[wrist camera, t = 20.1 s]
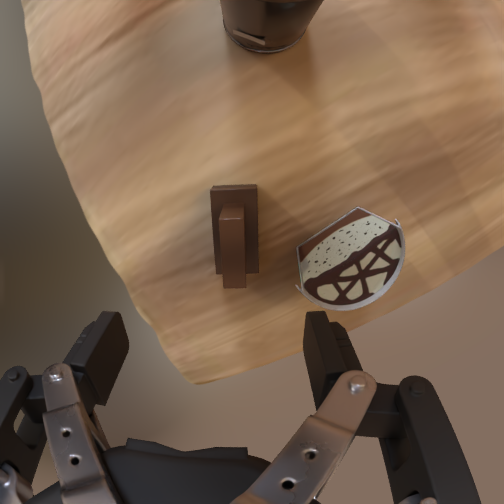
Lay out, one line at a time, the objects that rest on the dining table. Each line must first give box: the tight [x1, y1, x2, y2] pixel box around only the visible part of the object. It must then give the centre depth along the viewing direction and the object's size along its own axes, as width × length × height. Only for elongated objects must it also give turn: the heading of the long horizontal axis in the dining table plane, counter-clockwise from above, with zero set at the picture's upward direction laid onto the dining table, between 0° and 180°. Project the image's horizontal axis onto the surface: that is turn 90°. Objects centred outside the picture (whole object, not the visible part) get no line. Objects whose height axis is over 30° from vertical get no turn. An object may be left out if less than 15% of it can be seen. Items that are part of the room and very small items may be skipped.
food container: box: [295, 206, 405, 311], centre depth 32 cm, size 12×6×10 cm, turn 125°
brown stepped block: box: [210, 184, 259, 288], centre depth 31 cm, size 10×5×9 cm, turn 1°
